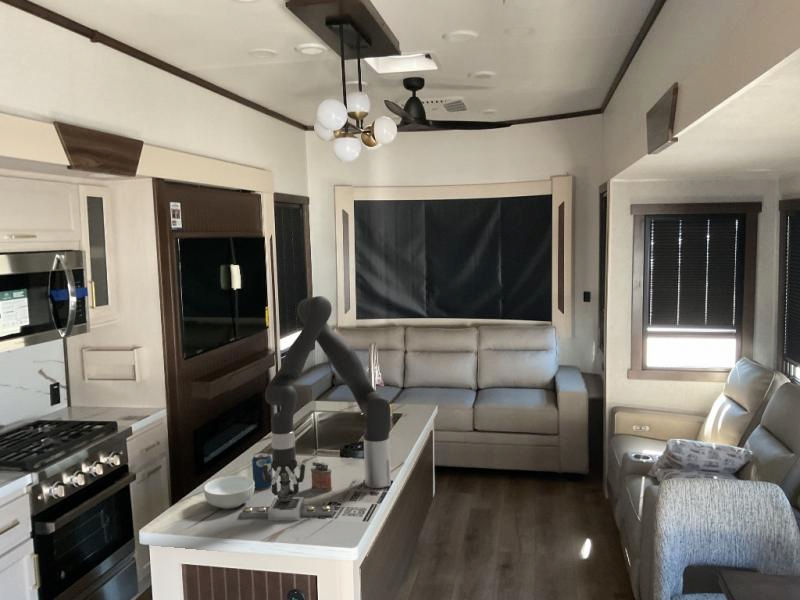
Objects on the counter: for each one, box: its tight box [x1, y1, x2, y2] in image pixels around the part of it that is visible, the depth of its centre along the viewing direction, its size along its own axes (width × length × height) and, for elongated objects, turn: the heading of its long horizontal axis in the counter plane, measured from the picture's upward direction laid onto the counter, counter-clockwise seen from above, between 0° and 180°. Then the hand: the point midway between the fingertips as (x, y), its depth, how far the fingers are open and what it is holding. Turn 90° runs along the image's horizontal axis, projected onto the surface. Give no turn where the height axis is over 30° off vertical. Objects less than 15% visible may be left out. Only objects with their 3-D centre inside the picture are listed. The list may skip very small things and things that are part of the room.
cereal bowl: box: [203, 475, 256, 510], centre depth 226 cm, size 17×17×7 cm
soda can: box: [251, 451, 274, 490], centre depth 240 cm, size 7×7×12 cm
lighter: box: [310, 461, 333, 493], centre depth 236 cm, size 8×3×10 cm, turn 65°
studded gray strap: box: [240, 496, 336, 522], centre depth 217 cm, size 30×10×4 cm, turn 89°
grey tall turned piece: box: [276, 473, 295, 507], centre depth 216 cm, size 6×6×12 cm
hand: (285, 494), depth 216 cm, fingers closed on grey tall turned piece, 6 cm apart
